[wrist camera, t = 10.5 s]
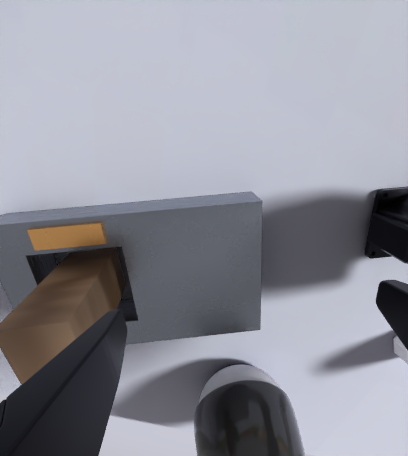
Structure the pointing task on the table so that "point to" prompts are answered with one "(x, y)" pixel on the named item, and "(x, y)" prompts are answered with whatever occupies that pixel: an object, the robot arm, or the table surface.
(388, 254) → the robot arm
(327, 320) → the table surface
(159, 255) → the grey peg hole board
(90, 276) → the walnut peg
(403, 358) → the pepper shaker
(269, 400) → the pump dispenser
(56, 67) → the table surface
